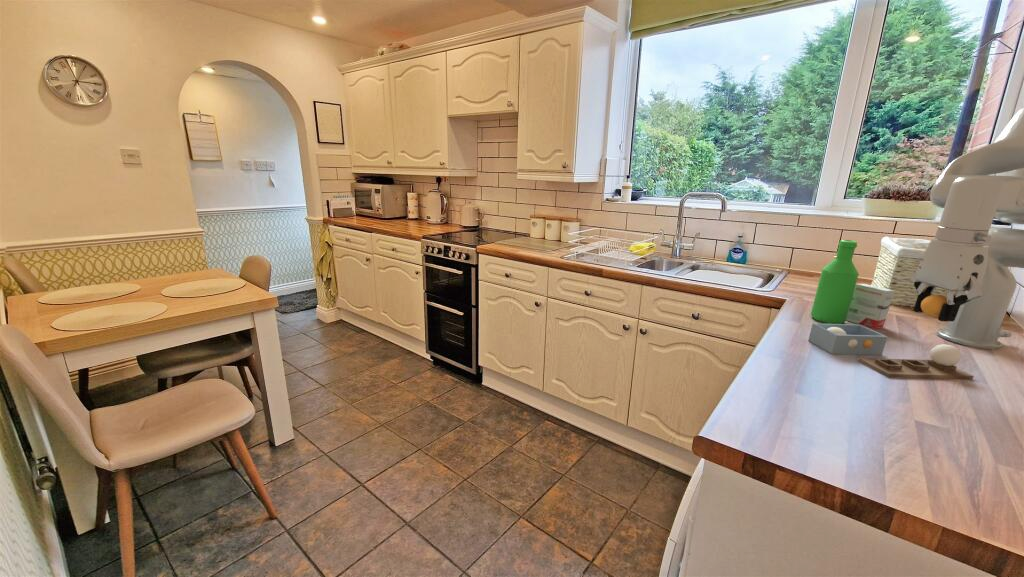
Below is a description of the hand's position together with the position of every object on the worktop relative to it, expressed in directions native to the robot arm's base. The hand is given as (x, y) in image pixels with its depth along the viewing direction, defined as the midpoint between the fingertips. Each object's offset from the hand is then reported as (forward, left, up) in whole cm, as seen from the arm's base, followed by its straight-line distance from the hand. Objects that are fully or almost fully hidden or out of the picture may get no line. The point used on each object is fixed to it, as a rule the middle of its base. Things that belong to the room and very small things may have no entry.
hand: (933, 315), depth 94 cm
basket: (-58, -56, -14) cm, 82 cm away
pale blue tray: (+7, -12, -14) cm, 19 cm away
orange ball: (0, 0, +2) cm, 2 cm away
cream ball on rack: (-6, 0, -10) cm, 11 cm away
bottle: (-5, -33, -14) cm, 36 cm away
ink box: (-15, -31, -14) cm, 37 cm away
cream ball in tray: (+11, -12, -11) cm, 19 cm away
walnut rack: (0, 0, -14) cm, 14 cm away
